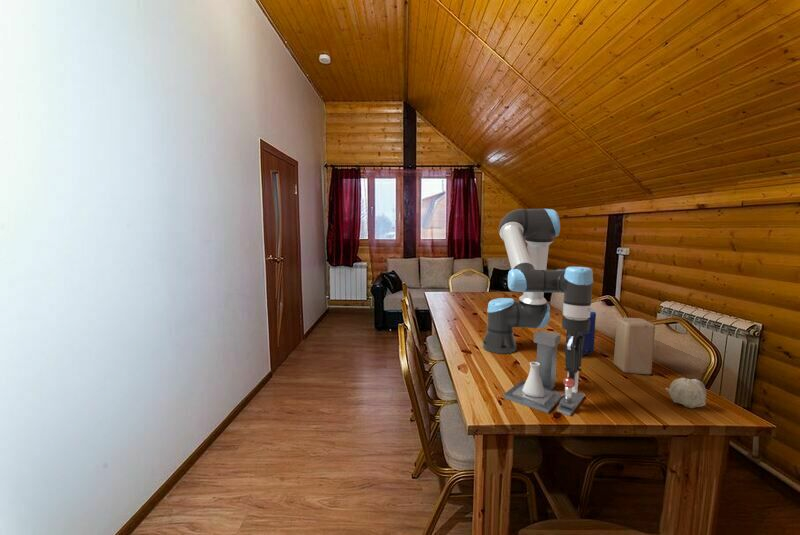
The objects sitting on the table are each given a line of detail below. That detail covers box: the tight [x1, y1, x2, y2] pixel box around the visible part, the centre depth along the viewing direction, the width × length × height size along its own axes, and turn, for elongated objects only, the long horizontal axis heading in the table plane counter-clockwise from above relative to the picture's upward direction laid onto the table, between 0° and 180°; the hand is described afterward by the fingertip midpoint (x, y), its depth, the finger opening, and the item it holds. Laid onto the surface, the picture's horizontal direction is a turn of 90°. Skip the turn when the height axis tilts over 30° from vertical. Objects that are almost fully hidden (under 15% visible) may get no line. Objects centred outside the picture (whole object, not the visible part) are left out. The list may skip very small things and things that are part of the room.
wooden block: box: [613, 316, 656, 375], centre depth 133 cm, size 10×10×20 cm
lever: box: [558, 376, 576, 409], centre depth 103 cm, size 4×4×9 cm
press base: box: [503, 330, 586, 417], centre depth 110 cm, size 19×20×19 cm
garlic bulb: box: [665, 377, 707, 409], centre depth 105 cm, size 9×8×10 cm
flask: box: [522, 361, 545, 397], centre depth 110 cm, size 7×7×10 cm
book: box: [565, 310, 597, 357], centre depth 148 cm, size 14×5×20 cm, turn 115°
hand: (572, 390), depth 105 cm, fingers closed
